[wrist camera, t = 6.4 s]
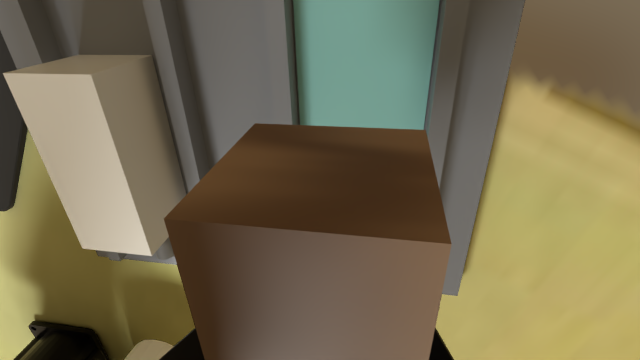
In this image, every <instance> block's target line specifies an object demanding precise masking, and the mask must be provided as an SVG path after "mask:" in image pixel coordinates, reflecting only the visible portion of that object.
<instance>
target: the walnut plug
mask: <svg viewBox="0 0 640 360" xmlns="http://www.w3.org/2000/svg"><path fill="white" fill-rule="evenodd" d="M164 222H165V225H166V229H167V232H168V235H169V239H170V242H171V246H172V249H173V253H174V256H175V259H176V263H177V266H178V270H179V273H180V277H181V280H182V283H183V287H184V290H185V294H186V297H187V300H188V304H189V307H190V311H191V314H192V318H193V321H194V324H195V328H196V331H197V335H198V338H199V342H200V345H201V348H202V352H203V355H204V359H205V360H429V356H430V351H431V346H432V341H433V336H434V331H435V326H436V321H437V316H438V311H439V306H440V301H441V295H442V290H443V285H444V280H445V275H446V270H447V265H448V260H449V255H450V250H451V245H452V244H451V239H450V235H449V230H448V226H447V222H446V217H445V213H444V208H443V204H442V199H441V195H440V190H439V186H438V182H437V177H436V173H435V168H434V164H433V159H432V155H431V151H430V146H429V142H428V137H427V133H426V130H417V129H390V128H364V127H338V126H312V125H286V124H260V123H255V124H254V125H253V126H252V127H251V128H250V129H249V130H248V131H247V132H246V133H245V134H244V135H243V136H242V137H241V138H240V139H239V140H238V141H237V143H236V144H235V145H234V146H233V147H232V148H231V149H230V150H229V151H228V152H227V153H226V154H225V155H224V156H223V157H222V158H221V159H220V160H219V161H218V162H217V163H216V164H215V166H214V167H213V168H212V169H211V170H210V171H209V172H208V173H207V174H206V175H205V176H204V177H203V178H202V179H201V180H200V181H199V182H198V183H197V184H196V185H195V186H194V187H193V188H192V190H191V191H190V192H189V193H188V194H187V195H186V196H185V197H184V198H183V199H182V200H181V201H180V202H179V203H178V204H177V205H176V206H175V207H174V208H173V209H172V210H171V211H170V213H169V214H168V215H167V216H166V217H165V218H164Z"/></svg>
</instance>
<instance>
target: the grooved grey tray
mask: <svg viewBox="0 0 640 360" xmlns="http://www.w3.org/2000/svg"><path fill="white" fill-rule="evenodd" d="M524 3H525V0H0V31H1V33H2V36H3V38H4V40H5V43H6V45H7V47H8V49H9V52H10V54H11V56H12V59H13V61H14V63H15V66H16V68H17V70H18V69H22V68H26V67H30V66H34V65H38V64H43V63H47V62H51V61H55V60H59V59H63V58H67V57H71V56H75V55H152V58H153V62H154V66H155V70H156V74H157V78H158V82H159V86H160V90H161V94H162V98H163V102H164V106H165V110H166V114H167V118H168V123H169V127H170V131H171V135H172V139H173V143H174V147H175V151H176V155H177V159H178V163H179V167H180V171H181V175H182V179H183V183H184V187H185V191H186V195H187V194H188V193H189V192H190V191H191V190H192V188H193V187H194V186H195V185H196V184H197V183H198V182H199V181H200V180H201V179H202V178H203V177H204V176H205V175H206V174H207V173H208V172H209V171H210V170H211V169H212V168H213V167H214V166H215V164H216V163H217V162H218V161H219V160H220V159H221V158H222V157H223V156H224V155H225V154H226V153H227V152H228V151H229V150H230V149H231V148H232V147H233V146H234V145H235V144H236V143H237V141H238V140H239V139H240V138H241V137H242V136H243V135H244V134H245V133H246V132H247V131H248V130H249V129H250V128H251V127H252V126H253V125H254V124H255V123H260V124H286V125H312V126H338V127H364V128H390V129H417V130H426V133H427V137H428V142H429V146H430V151H431V155H432V159H433V164H434V168H435V173H436V177H437V182H438V186H439V190H440V195H441V199H442V204H443V208H444V213H445V217H446V222H447V226H448V230H449V235H450V239H451V244H452V245H451V250H450V255H449V260H448V265H447V270H446V275H445V280H444V285H443V290H442V294H445V295H455V296H458V291H459V287H460V283H461V278H462V274H463V270H464V265H465V261H466V256H467V252H468V248H469V243H470V239H471V235H472V230H473V226H474V222H475V217H476V213H477V208H478V204H479V200H480V195H481V191H482V187H483V182H484V178H485V174H486V169H487V165H488V161H489V156H490V152H491V147H492V143H493V139H494V134H495V130H496V126H497V121H498V117H499V113H500V108H501V104H502V99H503V95H504V91H505V86H506V82H507V78H508V73H509V69H510V64H511V60H512V56H513V51H514V47H515V43H516V38H517V34H518V30H519V25H520V21H521V17H522V12H523V8H524ZM96 252H97V255H98V256H103V257H109V259H110V260H116V261H121V260H122V259H130V260H139V261H148V262H157V263H166V264H175V265H177V263H176V259H175V256H173V257H171V258H169V259H166V260H160V259H158V258H157V257H156V254H155V253H154V254H153V255H152V256H146V255H137V254H128V253H118V252H109V251H100V250H96Z"/></svg>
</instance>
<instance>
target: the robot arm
mask: <svg viewBox="0 0 640 360" xmlns="http://www.w3.org/2000/svg"><path fill="white" fill-rule="evenodd" d="M28 327H29V329H30V330H31V332H32V333H33V335H34V336H35V338H34V339H33V340H32V341H31V342H30V343H29V344H28V345H27V346H26V347H25V348H24V349H23V350H22V351H21V352H20V353H19V355H18V356H17V357H16V358H15V359H14V360H109V359H108V357H107V355H106V353H105V351H104V349H103V347H102V345H101V343H100V341H99V339H98V337H97V336H96V334H95V332H94V331H92V330H90V329H84V328H77V327H71V326H64V325H57V324H51V323H44V322H38V321H33V322H32V323H31V324H30V325H29V326H28ZM159 360H205V359H204V355H203V352H202V348H201V345H200V342H199V338H198V335H197V331H196V328H195V329H193V330H192V331H191V332H190V333H189V334H188V335H186V336H185V337H184V338H183V339H182V340H181V341H180V342H178V343H177V344H176V345H175V346H174V347H173V348H171V349H170V350H169V351H168V352H167V353H166V354H165V355H163V356H162V357H161V358H160V359H159ZM429 360H454V359H453V357H452V355H451V354H450V352H449V350H448V349H447V347H446V345H445V343H444V342H443V340H442V338H441V336H440V335H439V333H438V331H437V330H436V328H435V331H434V336H433V341H432V346H431V351H430V356H429Z"/></svg>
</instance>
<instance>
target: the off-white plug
mask: <svg viewBox="0 0 640 360" xmlns="http://www.w3.org/2000/svg"><path fill="white" fill-rule="evenodd" d="M3 75H4V77H5V79H6V81H7V84H8V86H9V88H10V90H11V92H12V95H13V97H14V99H15V101H16V103H17V106H18V108H19V110H20V112H21V114H22V117H23V119H24V121H25V123H26V125H27V128H28V130H29V132H30V134H31V136H32V139H33V141H34V143H35V145H36V147H37V150H38V152H39V154H40V156H41V158H42V161H43V163H44V165H45V167H46V169H47V172H48V174H49V176H50V178H51V180H52V183H53V185H54V187H55V189H56V191H57V194H58V196H59V198H60V200H61V202H62V205H63V207H64V209H65V211H66V213H67V216H68V218H69V220H70V222H71V224H72V227H73V229H74V231H75V233H76V235H77V237H78V240H79V242H80V244H81V246H82V248H83V249H91V250H100V251H109V252H118V253H128V254H137V255H146V256H152V255H153V254H154V253H155V254H156V257H157V258H158V259H160V260H166V259H169V258H171V257H173V256H174V253H173V249H172V246H171V242H170V239H169V235H168V232H167V229H166V225H165V222H164V218H165V217H166V216H167V215H168V214H169V213H170V211H171V210H172V209H173V208H174V207H175V206H176V205H177V204H178V203H179V202H180V201H181V200H182V199H183V198H184V197H185V196H186V191H185V187H184V183H183V179H182V175H181V171H180V167H179V163H178V159H177V155H176V151H175V147H174V143H173V139H172V135H171V131H170V127H169V123H168V118H167V114H166V110H165V106H164V102H163V98H162V94H161V90H160V86H159V82H158V78H157V74H156V70H155V66H154V62H153V58H152V55H75V56H71V57H67V58H63V59H59V60H55V61H51V62H47V63H43V64H38V65H34V66H30V67H26V68H22V69H18V70H14V71H10V72H6V73H3Z"/></svg>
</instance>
